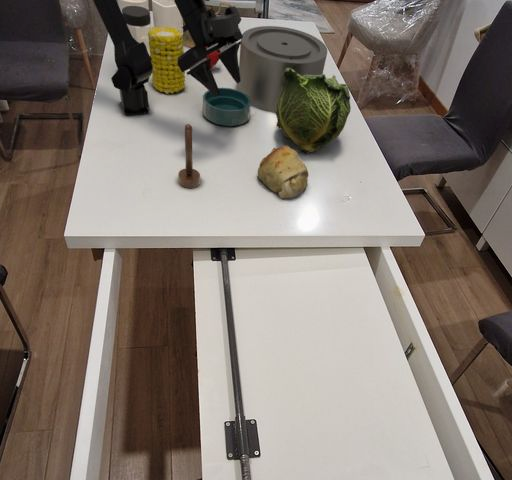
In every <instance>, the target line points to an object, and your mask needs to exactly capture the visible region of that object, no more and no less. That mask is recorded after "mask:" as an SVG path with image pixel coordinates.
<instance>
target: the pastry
mask: <svg viewBox="0 0 512 480" xmlns="http://www.w3.org/2000/svg"><path fill="white" fill-rule="evenodd" d="M257 176H258V179H259V180H260V181H261V182H262V184H263V185H264V186H265V187H266V188H268V189H269V190H270V191H272V192H273V193H275V194H277V195H278V197H279V198H280V199H282V200H283V199H291V198H294V197H297V196H298V195H301V194H302V193H303V192H304V191H306V188H307V186H308V181H309V180H308V177H309V170H308V168H307V165H306V164H305V162H304V161H302V158H300V156H299V155H298V152H297V151H295V149H292V148H290V147H289V145H283V146H280V147H277V148H276V147H274V148H273V149H271V151H270V153H268V154H267V155H266V156H264V157H263V158H262V159H261V161H260V163H259V166H258V168H257Z"/></svg>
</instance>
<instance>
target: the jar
mask: <svg viewBox="0 0 512 480" xmlns="http://www.w3.org/2000/svg"><path fill="white" fill-rule="evenodd" d="M122 15H123V17H124V19H125V21H126V24H127V26H128V28H129V31H130V33H131V35H132V37H133V38H134V39H135V40H136V41H137V42H139V43H141V42H144V44H145V45H146V48H147V51H148V54H149V56H150V49H149V47H150V46H149V35H148V32H149V29H151V28H152V19H151V12H150V10H148V9H146V8H143V7H140V6H127V7H124V8H123V9H122Z"/></svg>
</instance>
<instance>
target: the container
mask: <svg viewBox="0 0 512 480" xmlns="http://www.w3.org/2000/svg"><path fill="white" fill-rule="evenodd" d="M242 36H243V38H242V39H240V41H241V44H240V46H239V59H238V65H239V72H240V79H241V81H240V82H239V83H237V88H236V90H238V91H241V92H243V93H245V94H246V95H247V96H248V97H249V98H250V100H251V107H254V108H257V109H259V110H262V111H265V112H270V113H274V114H276V110H277V107H276V105H277V103H278V100H279V96H280V94H281V92H282V89H283V87H284V85H283V84H284V83H285V82H286V77H285V76H283V74H284V71H285V69H287V68H291V69H293V70H294V71H295V72H297V74H299V75H301V76H303V75H305V74H307V75H321V74H324V69H325V65H326V59H327V55H328V47H327V45H326V44H325V43H324V42H323V41H321V40H320V39H319V38H317V37H316V36H314V35H312V34H310V33H308V32H305V31H302V30H299V29H296V28H290V27H285V26H275V25H263V26H261V25H260V26H256V27H252V28H249V29H247V30H245V31H244V32H243V33H242ZM306 78H307V77H306ZM312 78H314V77H312Z"/></svg>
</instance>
